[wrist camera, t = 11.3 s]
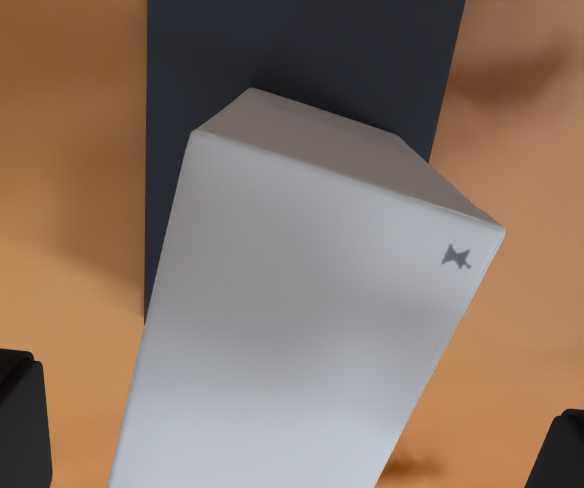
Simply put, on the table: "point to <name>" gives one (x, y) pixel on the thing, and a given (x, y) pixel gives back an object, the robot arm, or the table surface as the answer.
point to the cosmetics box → (296, 303)
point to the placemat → (288, 74)
